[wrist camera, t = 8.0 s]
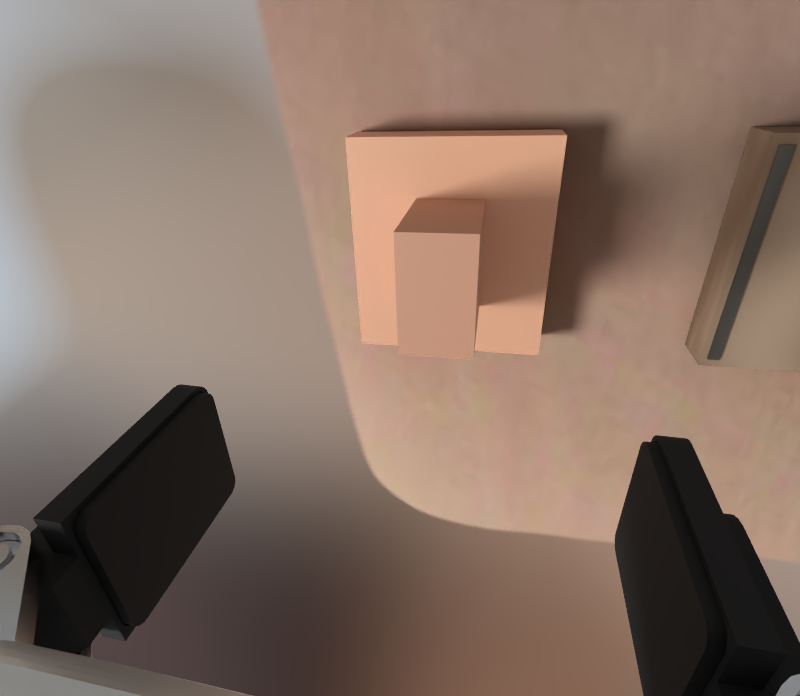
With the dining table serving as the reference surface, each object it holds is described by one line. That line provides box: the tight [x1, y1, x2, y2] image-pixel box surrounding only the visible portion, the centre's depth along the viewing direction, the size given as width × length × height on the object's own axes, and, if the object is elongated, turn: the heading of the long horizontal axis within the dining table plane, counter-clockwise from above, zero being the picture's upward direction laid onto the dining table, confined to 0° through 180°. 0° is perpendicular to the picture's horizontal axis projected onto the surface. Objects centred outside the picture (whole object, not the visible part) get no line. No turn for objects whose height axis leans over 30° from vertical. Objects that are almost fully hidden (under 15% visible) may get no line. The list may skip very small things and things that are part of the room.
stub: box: [345, 129, 567, 360], centre depth 21 cm, size 9×10×7 cm
